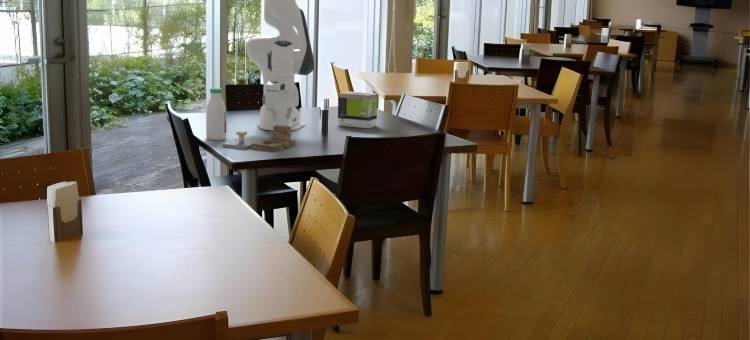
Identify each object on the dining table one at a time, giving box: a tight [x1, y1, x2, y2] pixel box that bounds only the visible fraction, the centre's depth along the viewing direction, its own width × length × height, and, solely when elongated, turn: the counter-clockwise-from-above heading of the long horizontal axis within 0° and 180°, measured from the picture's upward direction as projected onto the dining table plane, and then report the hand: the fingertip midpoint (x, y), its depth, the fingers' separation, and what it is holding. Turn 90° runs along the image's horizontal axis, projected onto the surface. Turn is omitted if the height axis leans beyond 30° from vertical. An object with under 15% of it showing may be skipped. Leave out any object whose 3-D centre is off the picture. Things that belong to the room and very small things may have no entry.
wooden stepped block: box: [250, 125, 296, 153], centre depth 324 cm, size 16×10×7 cm, turn 157°
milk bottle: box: [205, 87, 227, 141], centre depth 335 cm, size 8×8×20 cm
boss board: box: [221, 130, 270, 150], centre depth 328 cm, size 20×10×5 cm, turn 157°
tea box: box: [337, 91, 378, 129], centre depth 378 cm, size 15×10×15 cm, turn 65°
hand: (282, 120), depth 328 cm, fingers open, 8 cm apart
